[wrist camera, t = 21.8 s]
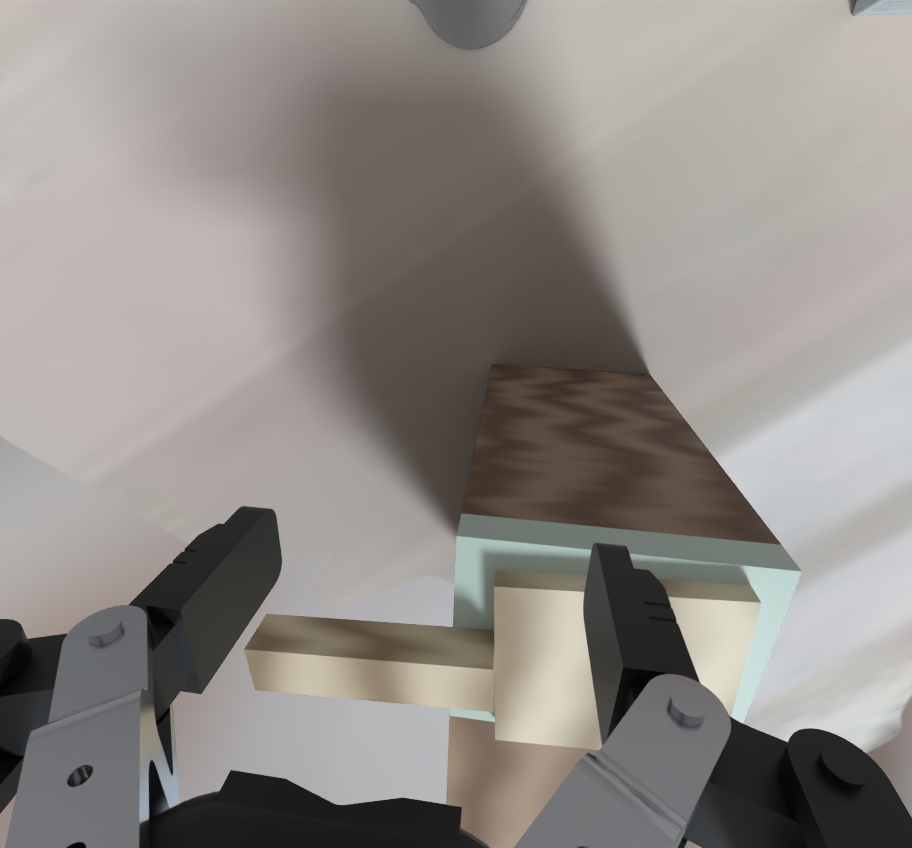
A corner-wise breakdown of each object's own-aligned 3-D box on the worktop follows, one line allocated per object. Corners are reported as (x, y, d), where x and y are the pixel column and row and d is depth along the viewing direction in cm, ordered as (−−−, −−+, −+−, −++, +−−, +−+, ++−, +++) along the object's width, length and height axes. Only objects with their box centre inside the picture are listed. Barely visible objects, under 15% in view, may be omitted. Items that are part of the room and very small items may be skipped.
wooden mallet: (287, 700, 31) (268, 739, 29) (252, 556, 27) (227, 588, 24) (711, 740, 28) (728, 787, 25) (750, 584, 23) (774, 624, 21)
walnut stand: (479, 564, 62) (444, 841, 35) (492, 364, 52) (456, 535, 24) (610, 578, 60) (681, 881, 33) (650, 374, 50) (801, 571, 23)
